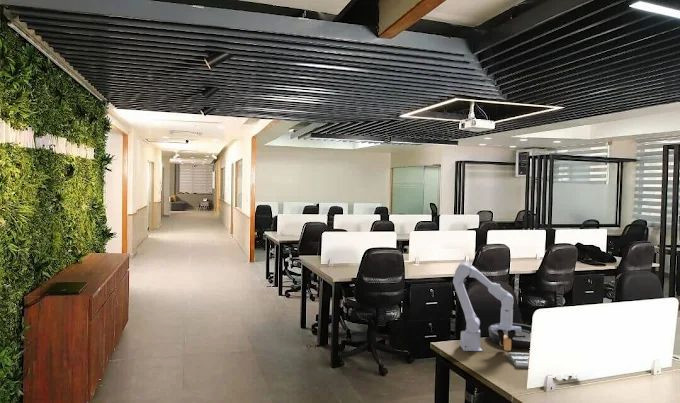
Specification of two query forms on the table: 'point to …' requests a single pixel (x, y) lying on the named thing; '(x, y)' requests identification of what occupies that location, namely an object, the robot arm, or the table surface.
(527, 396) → the table surface
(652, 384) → the table surface
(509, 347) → the orange notched block
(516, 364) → the slotted rail
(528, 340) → the grey bolted disc
